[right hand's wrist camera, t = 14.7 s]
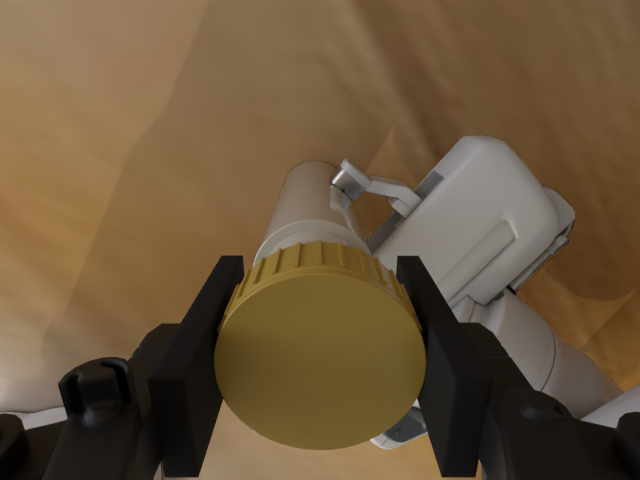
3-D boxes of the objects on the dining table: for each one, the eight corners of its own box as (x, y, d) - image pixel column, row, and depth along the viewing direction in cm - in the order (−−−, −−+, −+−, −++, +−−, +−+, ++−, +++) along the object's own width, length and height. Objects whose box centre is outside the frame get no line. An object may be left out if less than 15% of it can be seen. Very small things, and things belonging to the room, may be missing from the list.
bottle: (301, 235, 31) (285, 381, 15) (269, 179, 29) (216, 275, 14) (358, 207, 30) (405, 329, 14) (329, 148, 29) (346, 211, 13)
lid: (445, 281, 12) (472, 321, 10) (362, 417, 14) (369, 476, 12) (268, 207, 11) (256, 234, 9) (205, 362, 13) (182, 414, 11)
